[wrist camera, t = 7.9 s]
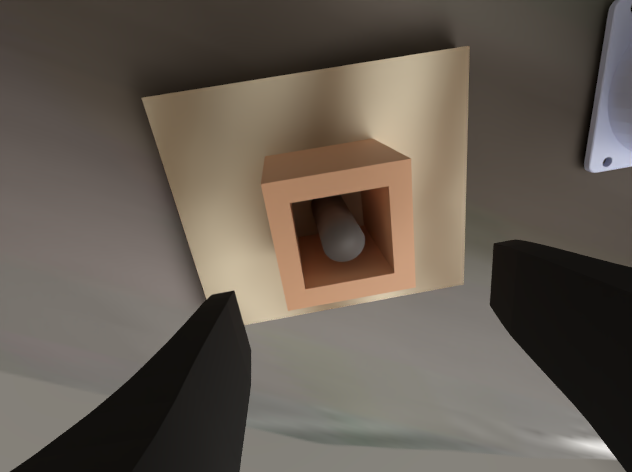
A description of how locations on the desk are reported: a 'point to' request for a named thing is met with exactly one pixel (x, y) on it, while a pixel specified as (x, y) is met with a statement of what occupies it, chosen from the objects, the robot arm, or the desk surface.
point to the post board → (306, 133)
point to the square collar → (379, 226)
